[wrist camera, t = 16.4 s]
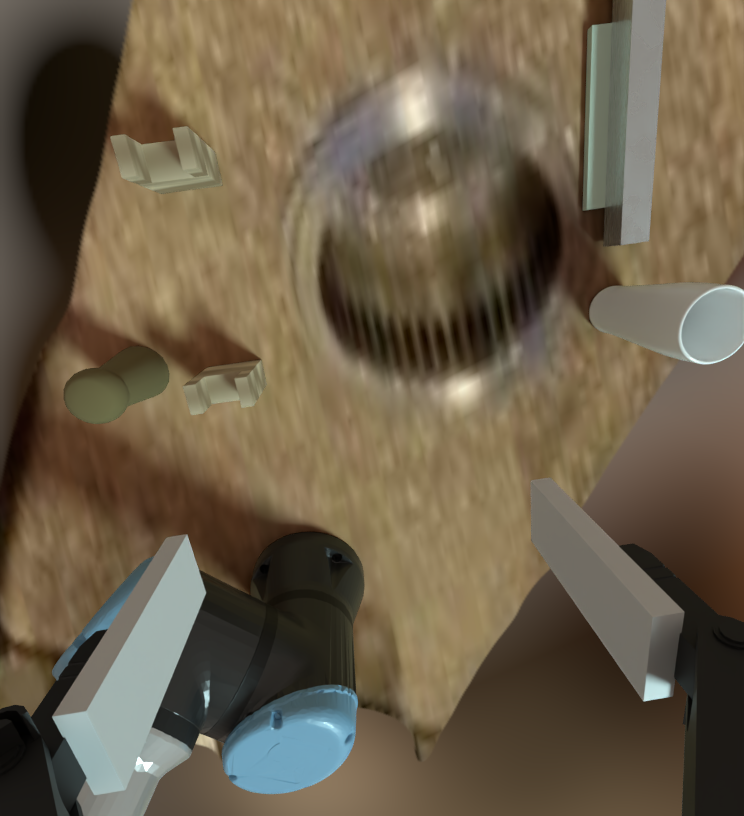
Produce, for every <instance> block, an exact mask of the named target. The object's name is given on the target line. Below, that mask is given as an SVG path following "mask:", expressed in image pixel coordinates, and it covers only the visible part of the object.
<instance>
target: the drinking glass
mask: <svg viewBox="0 0 744 816" xmlns="http://www.w3.org/2000/svg"><path fill="white" fill-rule="evenodd" d="M589 317H590V321H591V323H592V324H593V326H594V327H595V328H596V329H598V330H599V331H602V332H605V333H609V334H612V335H614V336H617V337H620V338H622V339H625V340H627V341H630V342H632V343H635V344H637V345H639V346H642V347H644V348H647V349H649V350H652V351H654V352H657V353H659V354H662V355H665V356H669V357H672V358H676V359H680V360H684V361H689V362H694V363H698V364H712V363H717V362H719V361H722V360H724V359H726V358H728V357H729V356H731V355H732V354H734V353H735V352H736V351H737V350H738V349H739V348H740V347H741V346H742V345H743V343H744V290H742V289H741V288H739V287H736V286H733V285H724V284H715V283H701V282H683V283H666V284H652V285H636V286H610V287H607V288H605V289H603V290H602V291H600V292H599V293H598V294H597V295H596V296H595V297H594V299H593V301H592V303H591V305H590V309H589Z"/></svg>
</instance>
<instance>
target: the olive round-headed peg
mask: <svg viewBox="0 0 744 816" xmlns="http://www.w3.org/2000/svg"><path fill="white" fill-rule="evenodd" d="M168 382H169V370H168V366H167V364H166V363H165V361H164V359H163V358H162V357H161V356H160V355H159V354H158V353H157V352H155V351H153V350H151V349H149V348H147V347H142V346H133V347H129V348H127V349H124V350H122V351H121V352H120V353H118V354H117V355H116V356H114V357H113V358H112V359H110V360H109V361H108V362H106V363H105V364H104V365H102V366H101V367H100V368H90V369H85V370H82V371H80V372H78V373H76V374H74V375H73V376H72V377H71V378H70V379H69V380H68V381H67V383H66V385H65V388H64V401H65V404H66V407H67V408H68V409H69V411H70V412H71V413H72V414H73V415H74V416H75V417H77V418H78V419H80V420H83V421H85V422H87V423H93V424H102V423H108V422H111V421H113V420H115V419H117V418H118V417H120V416H121V415H122V414H123V413H124V412H125V410H126V408H127V406H130V405H132V404H135V403H138V402H140V401H143V400H146V399H149V398H151V397H154V396H156V395H158V394H160V393H161V392H162V391H163V390H164V389H165V388H166V386H167V384H168Z"/></svg>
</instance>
